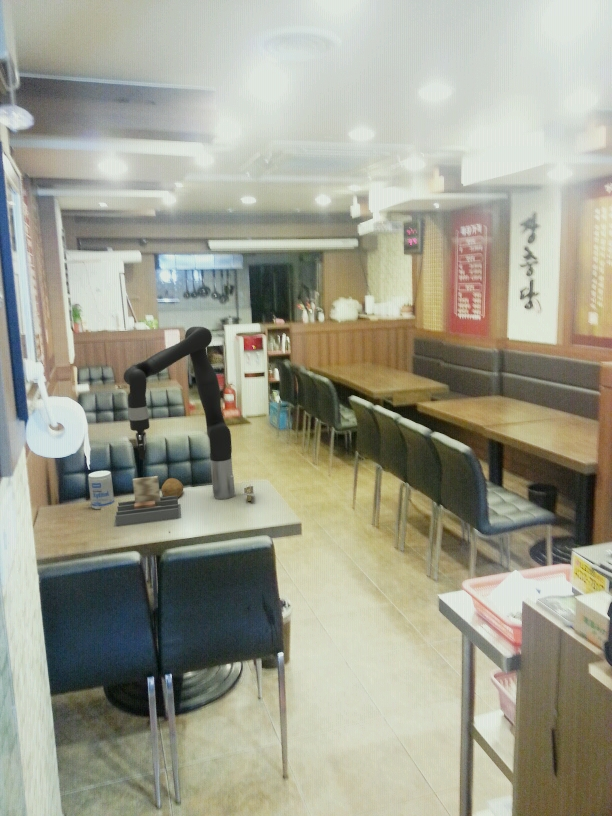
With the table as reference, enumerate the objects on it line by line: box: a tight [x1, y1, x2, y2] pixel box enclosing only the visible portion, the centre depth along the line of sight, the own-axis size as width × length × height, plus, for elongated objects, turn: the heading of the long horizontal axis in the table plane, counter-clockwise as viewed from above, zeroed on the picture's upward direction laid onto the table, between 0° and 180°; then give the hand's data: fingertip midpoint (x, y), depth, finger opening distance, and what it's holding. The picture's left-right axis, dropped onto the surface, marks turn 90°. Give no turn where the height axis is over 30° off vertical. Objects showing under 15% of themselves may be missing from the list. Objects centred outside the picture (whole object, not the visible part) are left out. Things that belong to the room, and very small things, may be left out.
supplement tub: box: [87, 470, 115, 510], centre depth 270 cm, size 10×10×15 cm
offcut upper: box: [134, 501, 156, 509], centre depth 253 cm, size 8×4×2 cm, turn 102°
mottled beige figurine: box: [243, 484, 255, 504], centre depth 269 cm, size 12×18×7 cm, turn 6°
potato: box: [160, 477, 184, 498], centre depth 276 cm, size 10×14×8 cm
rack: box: [113, 496, 182, 528], centre depth 254 cm, size 26×16×6 cm, turn 102°
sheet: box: [132, 475, 161, 503], centre depth 258 cm, size 10×2×14 cm, turn 102°
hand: (143, 456), depth 255 cm, fingers open, 8 cm apart
